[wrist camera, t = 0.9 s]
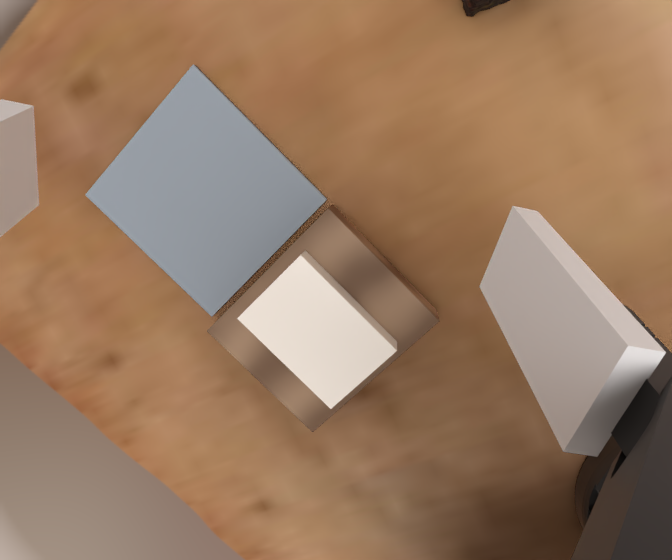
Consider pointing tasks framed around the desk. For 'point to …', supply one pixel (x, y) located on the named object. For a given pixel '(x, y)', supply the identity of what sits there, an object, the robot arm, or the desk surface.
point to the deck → (359, 281)
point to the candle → (479, 5)
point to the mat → (205, 192)
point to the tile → (318, 330)
